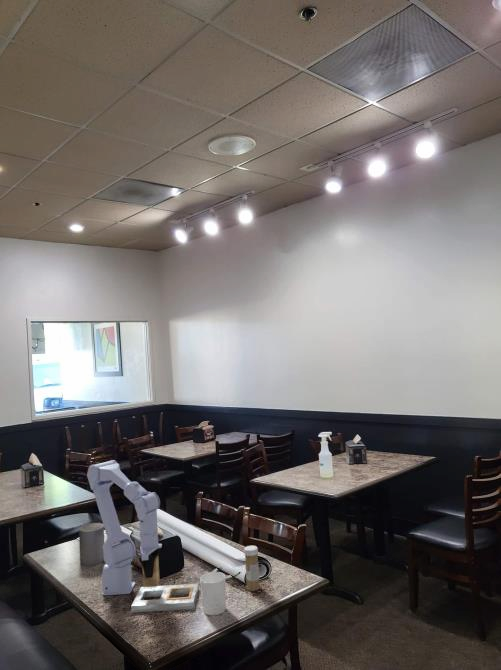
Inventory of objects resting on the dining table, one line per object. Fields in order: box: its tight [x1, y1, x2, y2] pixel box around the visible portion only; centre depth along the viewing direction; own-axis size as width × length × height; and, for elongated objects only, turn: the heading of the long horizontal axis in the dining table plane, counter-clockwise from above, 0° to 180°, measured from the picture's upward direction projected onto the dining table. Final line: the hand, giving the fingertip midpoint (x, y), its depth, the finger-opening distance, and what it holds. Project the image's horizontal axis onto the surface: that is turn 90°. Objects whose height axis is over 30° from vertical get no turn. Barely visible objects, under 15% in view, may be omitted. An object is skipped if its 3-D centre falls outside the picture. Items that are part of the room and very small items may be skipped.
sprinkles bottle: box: [243, 545, 261, 592], centre depth 165 cm, size 5×5×13 cm
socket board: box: [130, 583, 199, 614], centre depth 159 cm, size 20×13×2 cm, turn 89°
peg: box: [141, 555, 160, 587], centre depth 160 cm, size 4×4×8 cm
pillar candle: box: [78, 522, 106, 567], centre depth 197 cm, size 10×10×15 cm
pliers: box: [198, 567, 233, 587], centre depth 174 cm, size 10×2×15 cm
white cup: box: [199, 571, 227, 616], centre depth 152 cm, size 8×8×10 cm
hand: (150, 574), depth 160 cm, fingers closed on peg, 4 cm apart
